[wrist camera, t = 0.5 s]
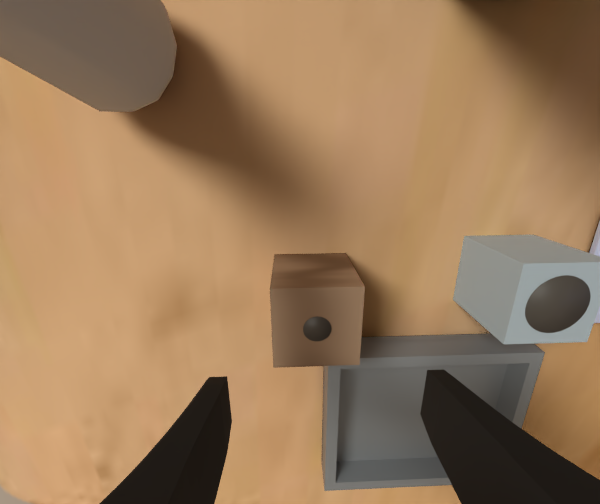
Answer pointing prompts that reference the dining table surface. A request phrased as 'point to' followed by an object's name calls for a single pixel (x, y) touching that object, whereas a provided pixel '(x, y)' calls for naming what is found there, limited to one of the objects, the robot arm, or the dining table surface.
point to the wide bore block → (528, 288)
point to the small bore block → (316, 310)
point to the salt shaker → (93, 48)
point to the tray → (411, 404)
